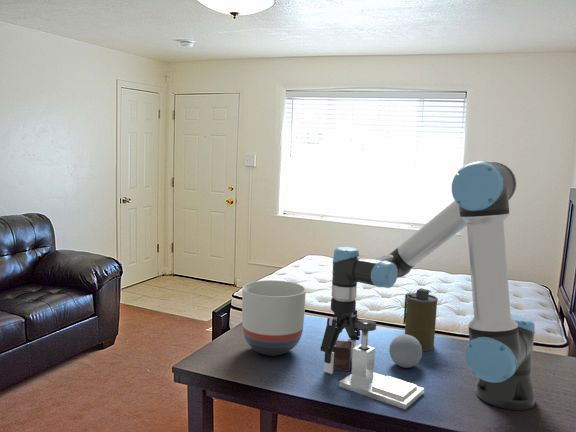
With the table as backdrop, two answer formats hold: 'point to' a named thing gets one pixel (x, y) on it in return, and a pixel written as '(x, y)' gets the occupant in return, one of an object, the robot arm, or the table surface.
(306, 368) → the table surface
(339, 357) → the box
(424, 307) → the canister
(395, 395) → the press
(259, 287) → the planter
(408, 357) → the decorative stone
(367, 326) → the plunger
